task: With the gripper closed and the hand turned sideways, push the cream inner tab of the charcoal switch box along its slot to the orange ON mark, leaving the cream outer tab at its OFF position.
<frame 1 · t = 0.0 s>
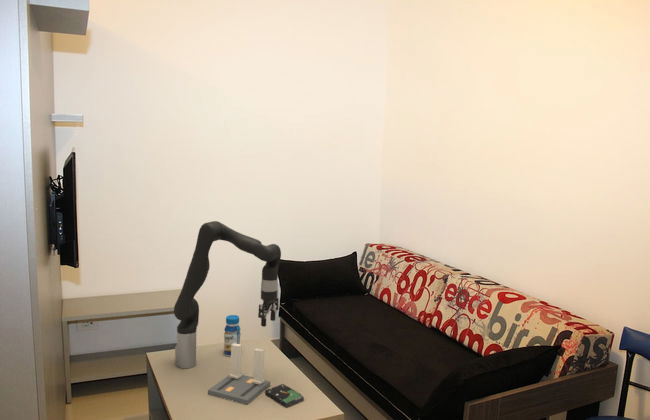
hand: (268, 323, 239), 29 cm above the table, tool pointing down, fingers open, 8 cm apart
disk drive: (284, 399, 231), on the table
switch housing: (239, 389, 236), on the table
tab b: (258, 366, 238), point 10 cm above the table, slide at 0.0 cm
tab a: (236, 360, 243), point 10 cm above the table, slide at 0.0 cm
beverage bottle: (231, 354, 275), on the table
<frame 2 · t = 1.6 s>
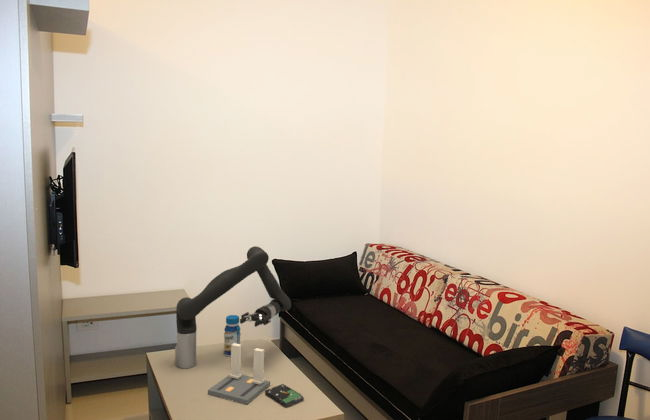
hand: (248, 323, 250), 25 cm above the table, tool horizontal, fingers open, 7 cm apart
nothing on the table moved.
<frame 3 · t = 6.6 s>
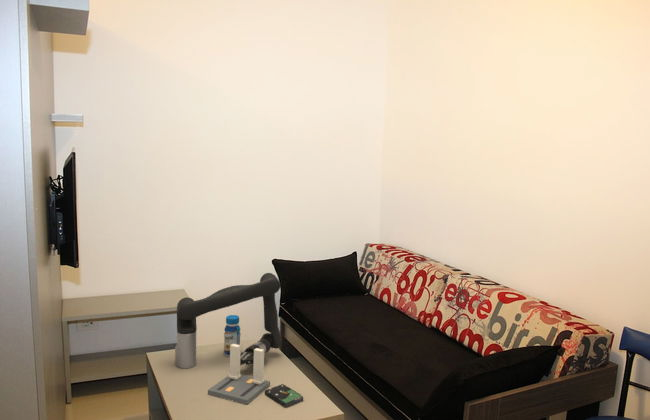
hand: (236, 364, 243), 8 cm above the table, tool horizontal, fingers closed
tab a: (235, 361, 242), point 10 cm above the table, slide at 0.9 cm, touching gripper
everything else where it was.
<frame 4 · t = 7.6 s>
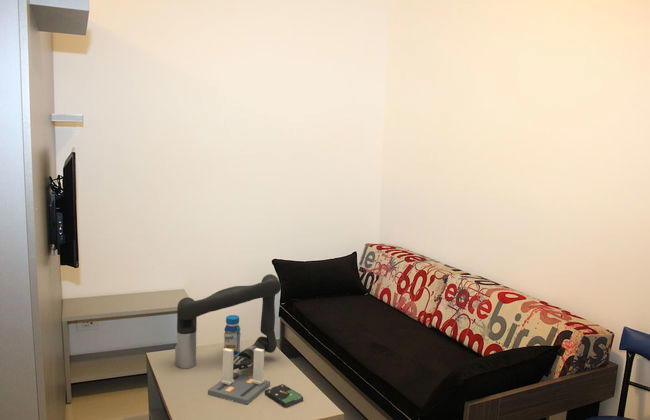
hand: (229, 369, 238), 8 cm above the table, tool horizontal, fingers closed
tab a: (227, 366, 237), point 10 cm above the table, slide at 6.7 cm, touching gripper
everything else where it was.
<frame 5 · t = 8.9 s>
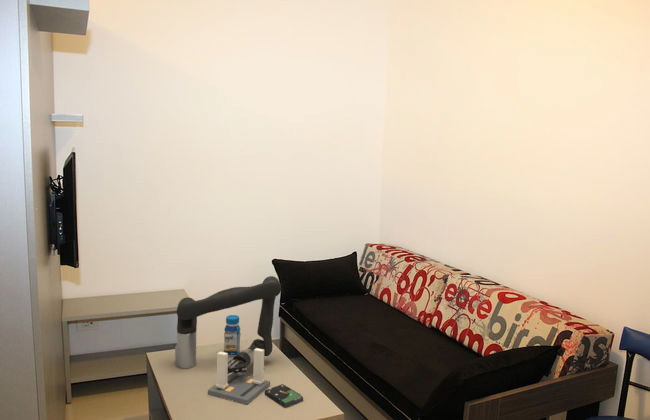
hand: (223, 373, 234), 8 cm above the table, tool horizontal, fingers closed
tab a: (222, 369, 232), point 10 cm above the table, slide at 11.1 cm, touching gripper
everything else where it was.
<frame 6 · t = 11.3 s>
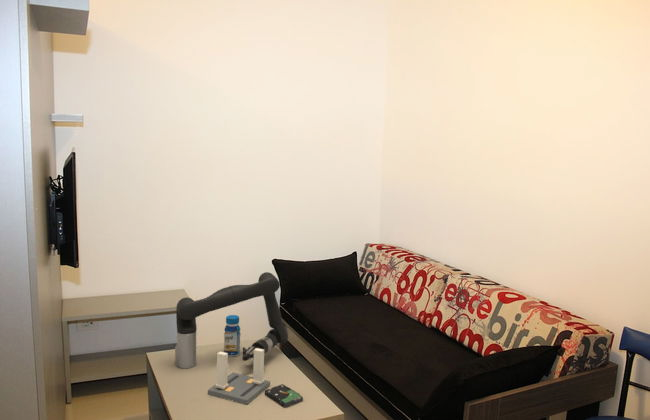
hand: (244, 358, 249), 8 cm above the table, tool horizontal, fingers closed
tab a: (222, 369, 232), point 10 cm above the table, slide at 11.2 cm
everything else where it was.
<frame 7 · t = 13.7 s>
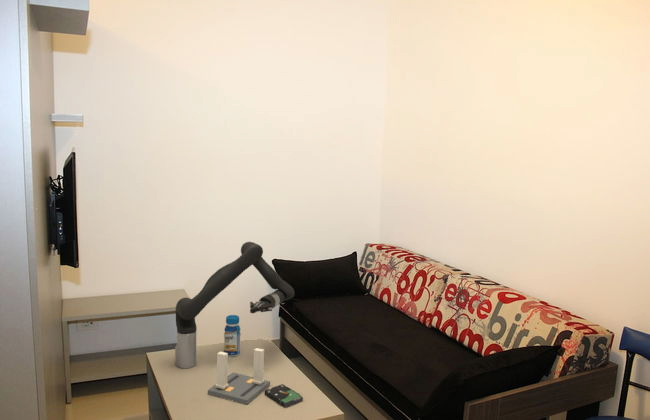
hand: (251, 311, 252), 30 cm above the table, tool horizontal, fingers closed
nothing on the table moved.
at the end: tab a slide at 11.2 cm; tab b slide at 0.0 cm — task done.
